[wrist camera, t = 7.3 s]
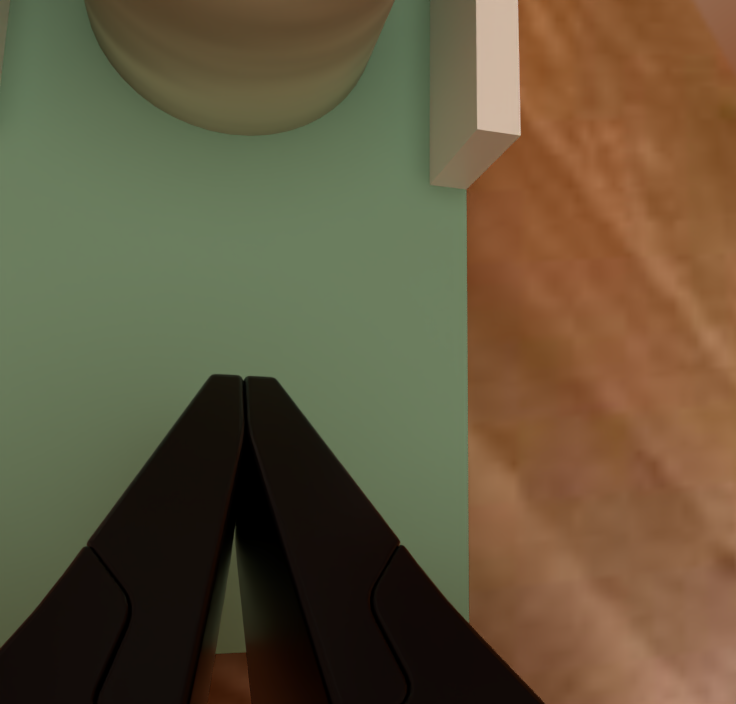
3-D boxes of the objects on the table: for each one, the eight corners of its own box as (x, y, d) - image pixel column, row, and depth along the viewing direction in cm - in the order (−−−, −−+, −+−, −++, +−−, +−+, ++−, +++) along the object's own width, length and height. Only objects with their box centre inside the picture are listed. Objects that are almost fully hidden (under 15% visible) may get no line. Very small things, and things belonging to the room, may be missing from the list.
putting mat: (452, 630, 16) (469, 641, 15) (-106, 656, 14) (-129, 670, 13) (451, -147, 20) (464, -178, 19) (9, -259, 17) (-2, -302, 16)
